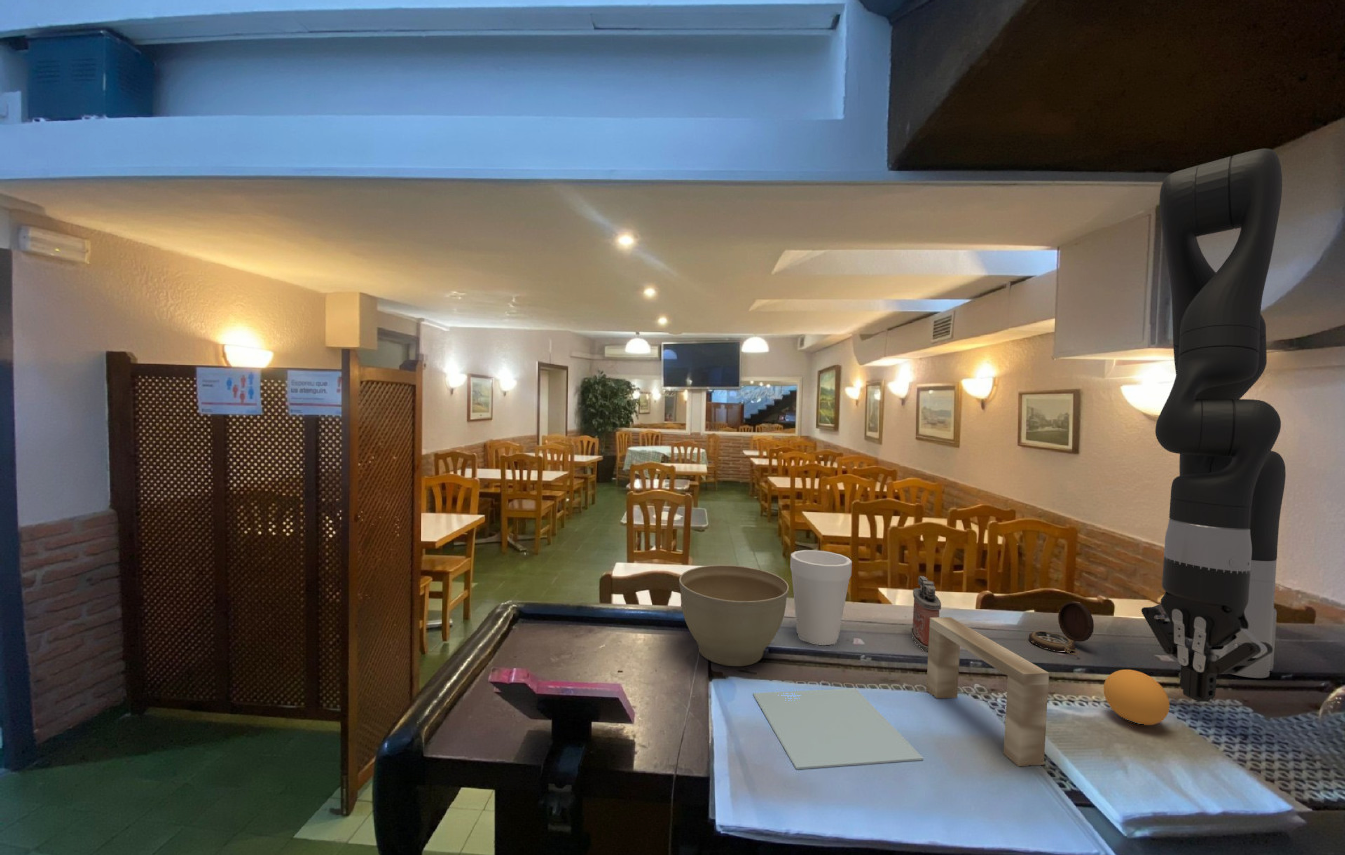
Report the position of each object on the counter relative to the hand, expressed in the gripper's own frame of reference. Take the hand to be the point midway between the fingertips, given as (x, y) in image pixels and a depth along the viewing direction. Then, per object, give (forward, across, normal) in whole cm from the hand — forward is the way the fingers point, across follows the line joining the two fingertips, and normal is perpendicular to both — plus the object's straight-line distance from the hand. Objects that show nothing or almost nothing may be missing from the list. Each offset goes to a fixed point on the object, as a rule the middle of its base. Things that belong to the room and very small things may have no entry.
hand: (1196, 698), depth 65 cm
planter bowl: (+3, +21, +54) cm, 58 cm away
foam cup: (+3, +26, +38) cm, 46 cm away
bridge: (+3, +1, +29) cm, 29 cm away
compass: (+3, +19, 0) cm, 19 cm away
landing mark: (+3, +3, +47) cm, 47 cm away
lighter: (+3, +23, +21) cm, 31 cm away
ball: (0, 0, +9) cm, 9 cm away
